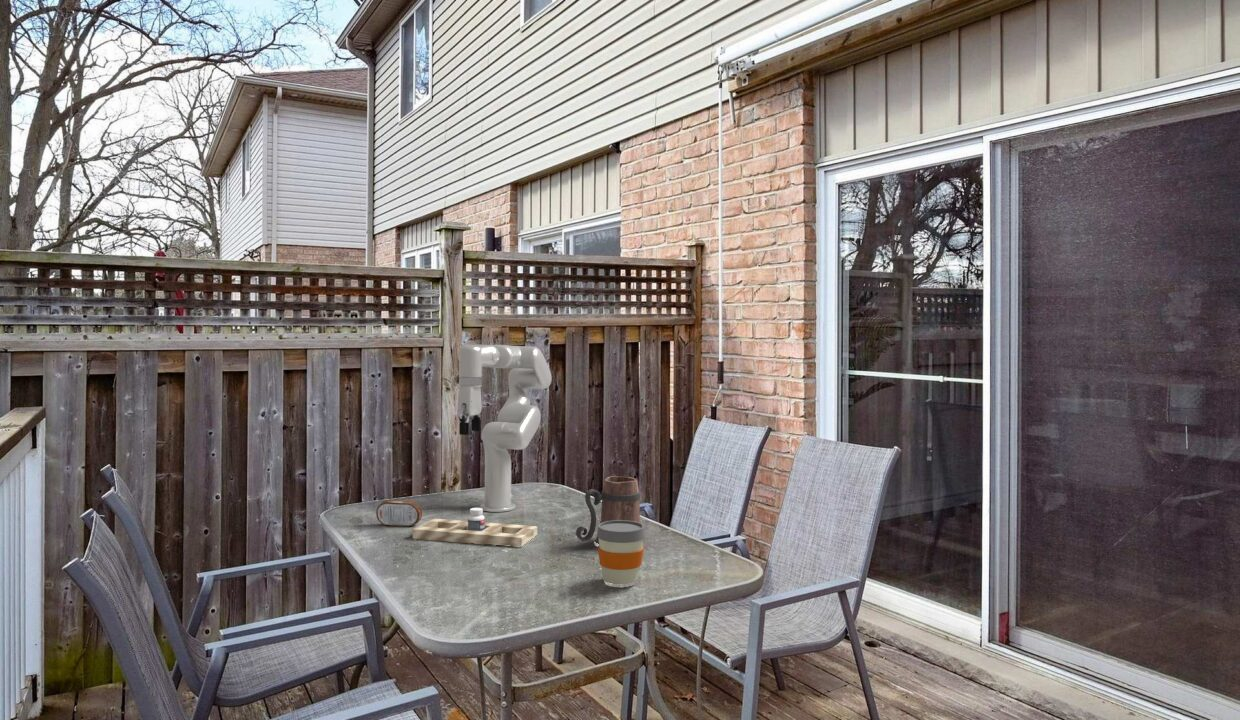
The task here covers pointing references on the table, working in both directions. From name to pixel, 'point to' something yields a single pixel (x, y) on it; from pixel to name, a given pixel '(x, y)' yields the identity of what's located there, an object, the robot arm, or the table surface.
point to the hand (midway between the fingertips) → (470, 432)
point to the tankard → (613, 503)
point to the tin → (398, 513)
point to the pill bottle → (476, 520)
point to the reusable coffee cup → (620, 550)
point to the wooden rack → (475, 533)
